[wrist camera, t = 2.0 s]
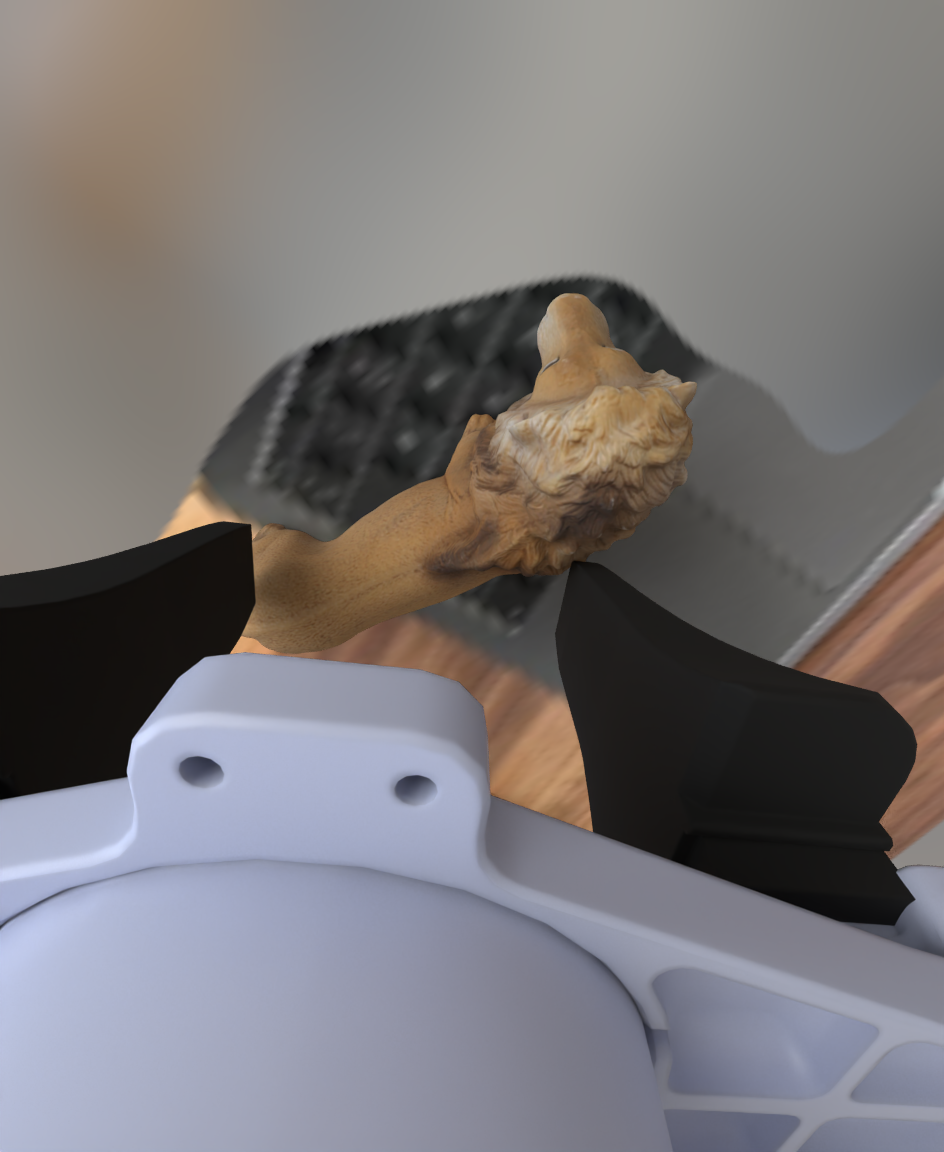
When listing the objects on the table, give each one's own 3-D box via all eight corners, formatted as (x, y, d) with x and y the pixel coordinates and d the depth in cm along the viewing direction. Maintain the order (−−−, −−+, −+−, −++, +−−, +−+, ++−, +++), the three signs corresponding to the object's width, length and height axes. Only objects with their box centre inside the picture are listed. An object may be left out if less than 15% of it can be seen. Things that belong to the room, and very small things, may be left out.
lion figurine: (564, 298, 17) (645, 226, 8) (649, 445, 18) (792, 510, 10) (213, 560, 20) (14, 699, 12) (310, 668, 21) (197, 862, 13)
